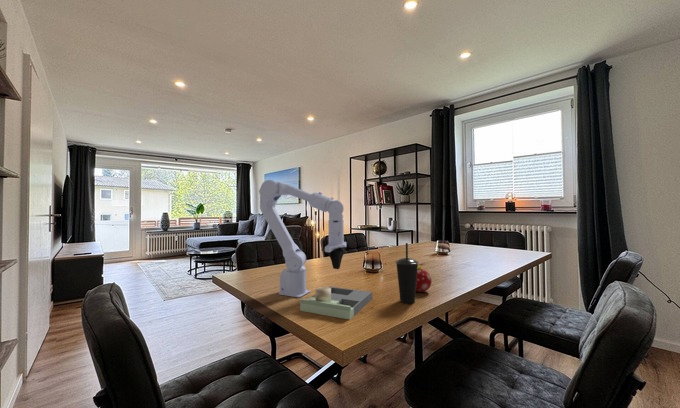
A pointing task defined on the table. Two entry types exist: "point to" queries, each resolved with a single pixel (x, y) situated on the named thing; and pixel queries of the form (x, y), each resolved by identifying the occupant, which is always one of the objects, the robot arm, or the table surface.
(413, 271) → the drinking cup
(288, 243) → the robot arm
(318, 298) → the beige rounded cylinder
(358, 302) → the trap deck
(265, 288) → the table surface
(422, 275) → the christmas ornament
